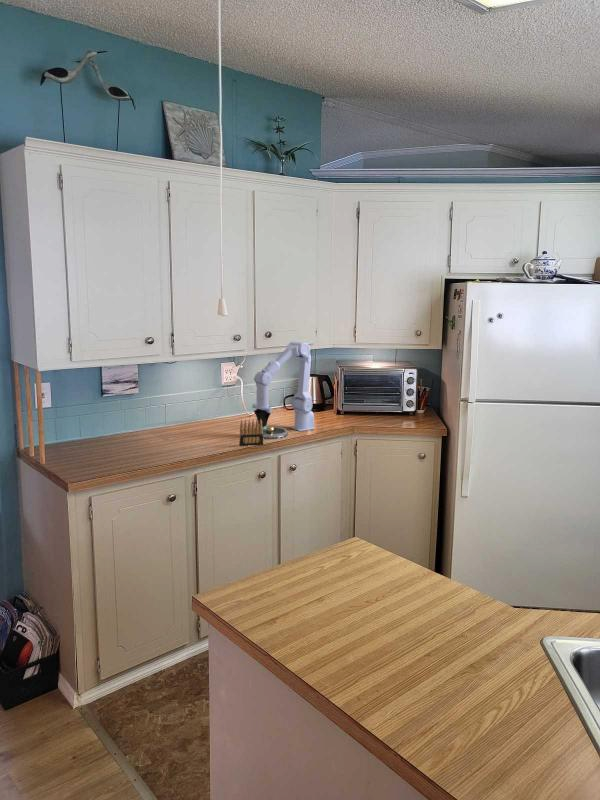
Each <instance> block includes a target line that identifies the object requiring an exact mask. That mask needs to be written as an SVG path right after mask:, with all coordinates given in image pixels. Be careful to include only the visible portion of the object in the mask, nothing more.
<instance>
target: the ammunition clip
mask: <svg viewBox="0 0 600 800" xmlns="http://www.w3.org/2000/svg"><path fill="white" fill-rule="evenodd" d="M238 445H239V447H249V446H248V445H254V446H264V439H263V428H262V420H261V419H260V425H259V424H258V419H257V418H256V421H255V420H254V419H252V422H251V419H249V420H248V422H247V419H245V420H244V423H243V419H241V420H240V426H239V444H238Z"/></svg>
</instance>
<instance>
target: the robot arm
mask: <svg viewBox="0 0 600 800" xmlns="http://www.w3.org/2000/svg"><path fill="white" fill-rule="evenodd" d="M291 357H296V359H297V360H299V368H298V369H299V370H298V381H297V392H295V394H294V395H293V399H292V402H291V407H292V409H293V410H294V426H291V427H290V428H291V429H293V430H296V431H299V432H302V431H309V430H315V429H316V427H315V415H314V412H313V411H312V409H313V397H312V395H310V393H309V391H310V390H309V389H310V388H309V387H310V379H311V377H310V376H311V363H312V355H311V346H310V345H309V344H308V343H307V342H300V341H295V340H293V341H292V340H291V341H289V343H288V344H287V345H286V347H285V349H284V350H283V351H282V352H281V354H280V355H279V356H278V357H276V359H275V360H271V361H268V364H267V365H266V366H265V367H264V368H262V369H261V370H260V371H258V372H256V374H255V376H254V377H253V381H254V382H255V386H256V403H252V407H251V408H252V409H255V410H253V413H254V414H255V416H256V420H257V419H258V426H259V425H260V419H261V420H262V426H267V425H268V422H269V421H268V420H269V417H270V416H271V414H272V413H274V408H272V407H270V405H269V403H270V402H269V401H270V400H269V399H270V398H269V397H270V395H269V394H270V393H269V390H270V389H269V388H270V386H269V385H270V383H272V379H273V377H274V376H275V375H276V374H277V373H278V372H279V371H280V369H281V366H282V365H283V364H285V363H286V362H287V361H288V360H289V359H290V358H291Z"/></svg>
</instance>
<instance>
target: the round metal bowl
mask: <svg viewBox="0 0 600 800" xmlns="http://www.w3.org/2000/svg"><path fill="white" fill-rule="evenodd" d="M287 435H289V434H288V430H287V428H284V427H278V426H267V431H265V432H263V438H264V439H263V440H277V438H280V439H283V437H284V438H286V437H288V436H287Z"/></svg>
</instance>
